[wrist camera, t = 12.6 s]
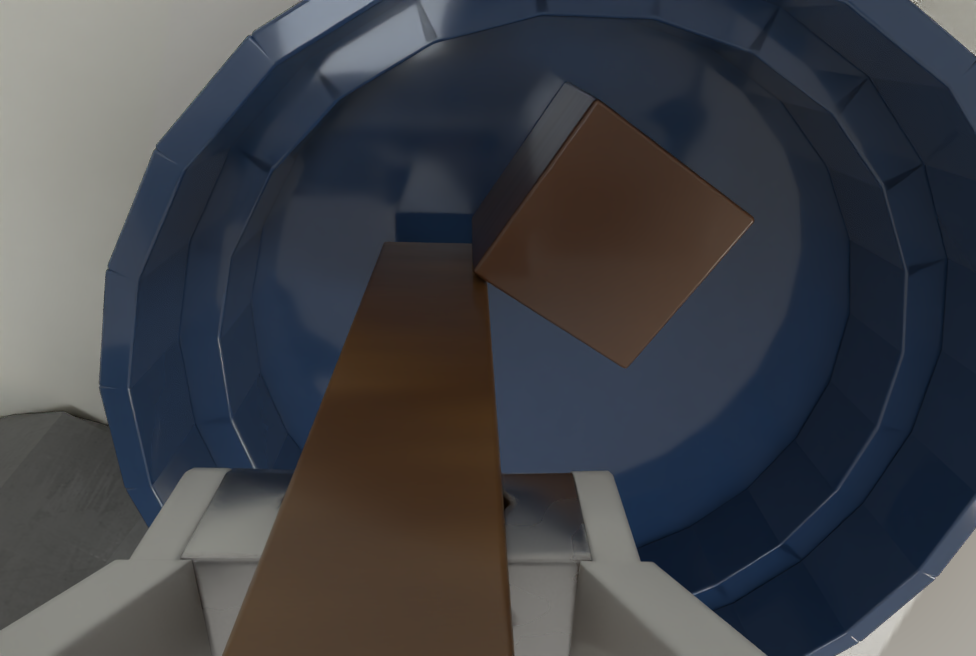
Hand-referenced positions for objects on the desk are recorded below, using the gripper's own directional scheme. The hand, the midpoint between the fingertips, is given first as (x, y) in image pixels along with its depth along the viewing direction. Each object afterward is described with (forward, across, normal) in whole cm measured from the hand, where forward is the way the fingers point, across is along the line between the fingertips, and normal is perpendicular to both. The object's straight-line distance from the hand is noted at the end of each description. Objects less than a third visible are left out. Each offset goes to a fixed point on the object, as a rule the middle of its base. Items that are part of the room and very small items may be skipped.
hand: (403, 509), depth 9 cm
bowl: (+10, -3, +2) cm, 11 cm away
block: (+9, -4, -2) cm, 10 cm away
